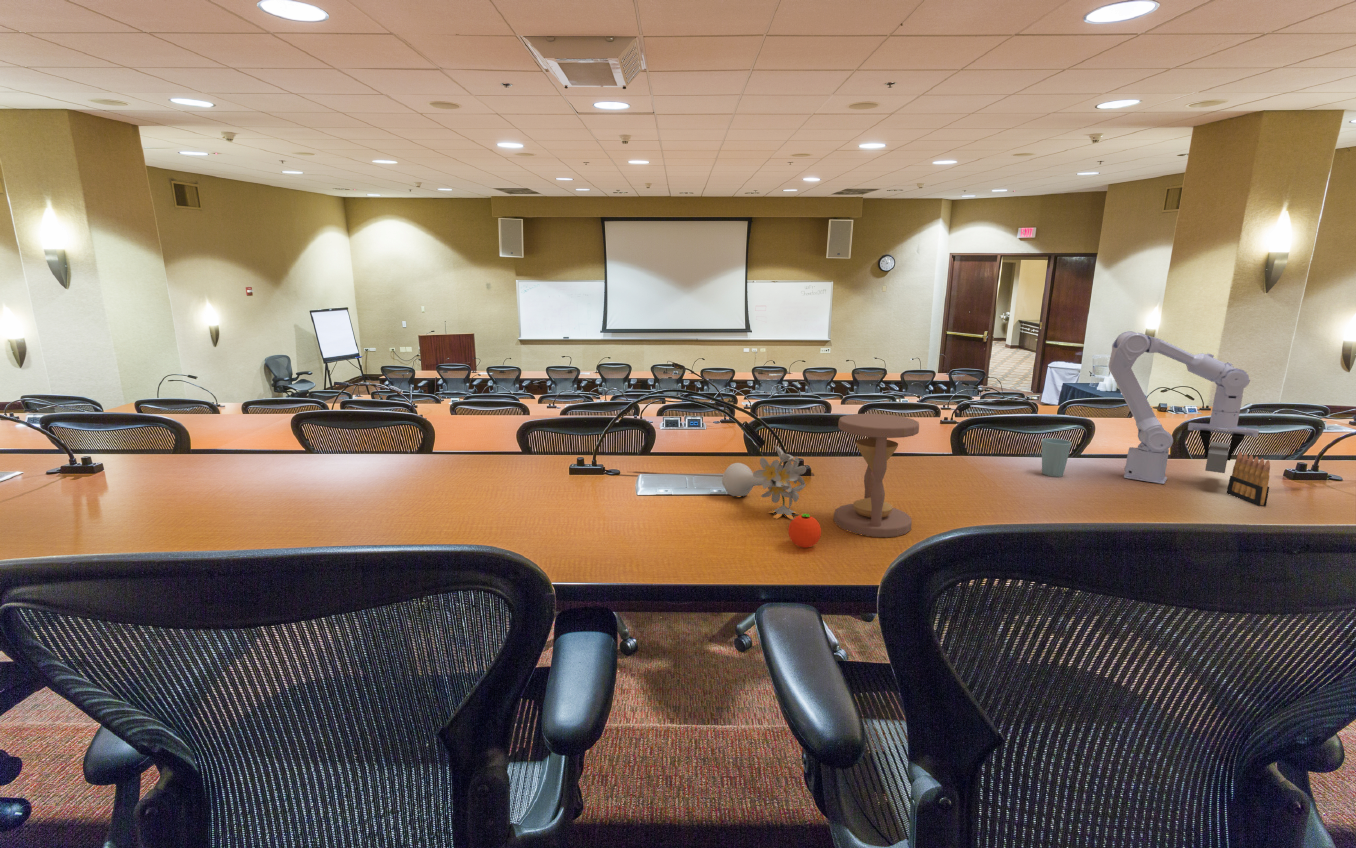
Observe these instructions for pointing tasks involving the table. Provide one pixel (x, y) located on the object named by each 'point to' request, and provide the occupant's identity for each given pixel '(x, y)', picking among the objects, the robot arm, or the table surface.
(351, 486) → the table surface
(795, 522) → the clementine
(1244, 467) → the ammunition clip
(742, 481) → the flower vase
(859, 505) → the hourglass
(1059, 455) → the cup
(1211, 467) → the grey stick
